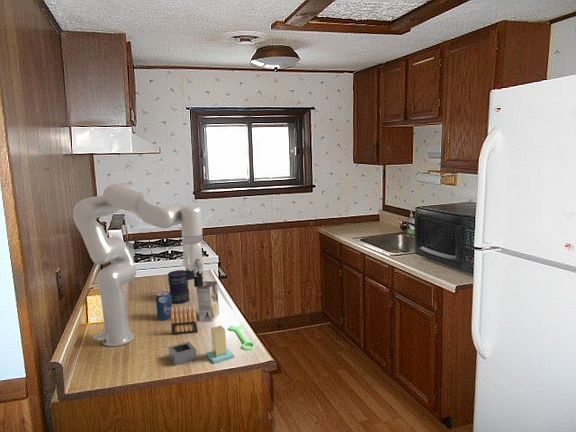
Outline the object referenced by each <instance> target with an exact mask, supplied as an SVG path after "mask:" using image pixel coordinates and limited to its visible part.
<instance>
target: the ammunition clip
mask: <svg viewBox="0 0 576 432" xmlns="http://www.w3.org/2000/svg"><path fill="white" fill-rule="evenodd" d="M187 306H188V307H187V308H186V306H185V305H184V306H183V309H182V307H181V306H179V309H178V307H177V306H175V309H174V308H173V306H172V307H171V319H170V322H171V323H170V324H171V325H170V326H171V327H170V328H171V330H170V331H171V336H179V335H189V334H198V324H197V323H198V322H197V315H196V314H197V313H196V310H195V305H194V304H193V305H192V308H191V307H190V305H187Z"/></svg>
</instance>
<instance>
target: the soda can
mask: <svg viewBox="0 0 576 432" xmlns="http://www.w3.org/2000/svg"><path fill="white" fill-rule="evenodd" d="M155 304H156V306H155V307H156V314H157V315H156V316H157V317H156V318H158V320H160V321H169V320H171V307H172V308H173V304H172V299H171V295H170V291H164V290H163V291H160V292H157V293H156V296H155Z"/></svg>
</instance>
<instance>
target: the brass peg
mask: <svg viewBox="0 0 576 432" xmlns="http://www.w3.org/2000/svg"><path fill="white" fill-rule="evenodd" d="M210 333H211V334H210V336H211V347H212V348H211V349H212V351H213V354H214V355H215V356H216V357H220V356H223V355H227V352H226V348H227V340H226V338H227V337H226V329H225V328H224V327H223V326H222V325H218V326H213V327H210Z"/></svg>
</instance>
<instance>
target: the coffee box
mask: <svg viewBox="0 0 576 432" xmlns="http://www.w3.org/2000/svg"><path fill="white" fill-rule="evenodd" d="M196 293H197V294H196V296H197V303H198V304H197V305H198V316H199V321H200V322H213V321H214V320H215V319H216V318H217V317H218V316H219V315H220V308H219V307H220V306H219V305H220V304H219V294H218V293H219V292H218V282H217V280H216V281H212V280H211V281H207V280H206V281H203V286H200V287H196Z"/></svg>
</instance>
